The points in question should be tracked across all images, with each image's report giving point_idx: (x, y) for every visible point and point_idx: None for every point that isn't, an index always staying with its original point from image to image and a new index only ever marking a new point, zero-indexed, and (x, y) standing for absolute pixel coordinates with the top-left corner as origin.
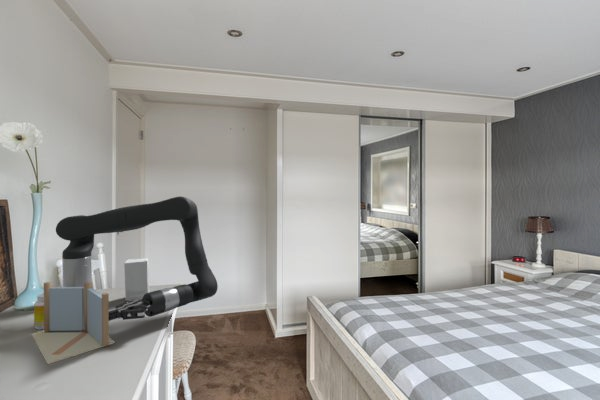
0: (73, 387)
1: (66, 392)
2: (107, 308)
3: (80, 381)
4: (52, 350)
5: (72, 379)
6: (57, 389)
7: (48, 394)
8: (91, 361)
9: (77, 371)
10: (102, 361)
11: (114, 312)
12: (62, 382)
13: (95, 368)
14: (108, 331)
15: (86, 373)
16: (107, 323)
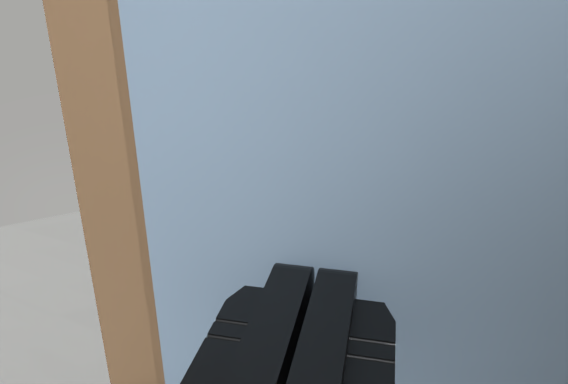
0: (3, 244)
1: (8, 230)
2: (65, 81)
3: (3, 264)
4: None
5: (56, 259)
6: (62, 226)
7: (71, 213)
8: (94, 346)
9: (89, 285)
10: (13, 371)
11: (233, 369)
12: (84, 242)
13: (3, 324)
14: (109, 368)
15: (22, 292)
16: (98, 274)
